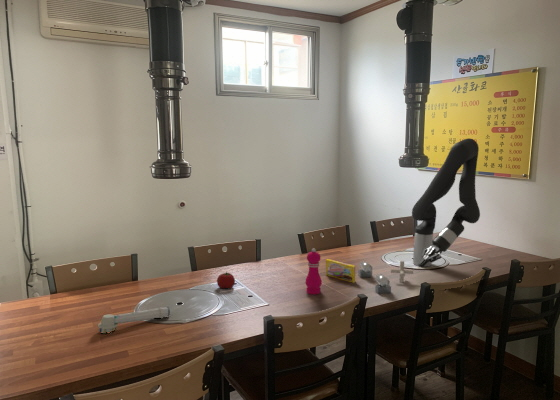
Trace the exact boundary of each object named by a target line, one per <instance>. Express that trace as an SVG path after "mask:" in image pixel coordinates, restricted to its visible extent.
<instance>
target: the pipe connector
mask: <svg viewBox="0 0 560 400" xmlns="http://www.w3.org/2000/svg"><path fill="white" fill-rule="evenodd" d="M399 262H400V263H399V267H398V268H397V269H396V268H391V269H390V273H391V274H399V283H404V280H405V279H404V278H405V277H406V274H409V275H410V274H411V275H414V270H413V269H405V261H404V260H400V261H399Z"/></svg>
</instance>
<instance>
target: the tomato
mask: <svg viewBox="0 0 560 400" xmlns="http://www.w3.org/2000/svg"><path fill="white" fill-rule="evenodd" d="M216 283H217V287H219V289H225V288H229V289H231V288H234V285H235V283H236V280H235V276H234V275H233V274H232V273H230V272H227V271H226V272H223V273H221V274H219V275H218V277H217V279H216Z"/></svg>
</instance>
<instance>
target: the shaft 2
mask: <svg viewBox="0 0 560 400" xmlns="http://www.w3.org/2000/svg"><path fill="white" fill-rule="evenodd" d="M374 279H375V281H376V282H377V283H378V284H375V286H374V287H375V289H374V290H375V293H376V294H378V295H383V294H384V295H385V294H391V293H392V286H391V285H390V279H388V278H387V277H386V276H384V275H383V274H382V273H379V274H377V275H376V276H375V278H374Z"/></svg>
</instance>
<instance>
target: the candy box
mask: <svg viewBox="0 0 560 400" xmlns="http://www.w3.org/2000/svg"><path fill="white" fill-rule="evenodd" d="M325 275H326V276H328V277H332V278H335V279H339V280H342V281H345V282H346V281H347V282H349V283H353V284H354V283H355V282H356V265H354V264H350V263H345V262H342V261H337V260H334V259H330V258H327V259H325Z"/></svg>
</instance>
